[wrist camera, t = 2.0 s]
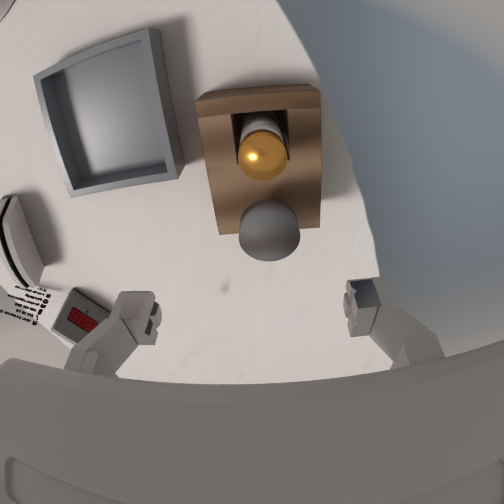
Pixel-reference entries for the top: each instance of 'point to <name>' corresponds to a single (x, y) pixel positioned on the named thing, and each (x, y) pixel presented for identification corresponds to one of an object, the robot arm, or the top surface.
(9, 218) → the black-striped white block
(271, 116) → the gold-capped glass vial
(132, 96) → the tray
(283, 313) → the top surface
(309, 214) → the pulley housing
